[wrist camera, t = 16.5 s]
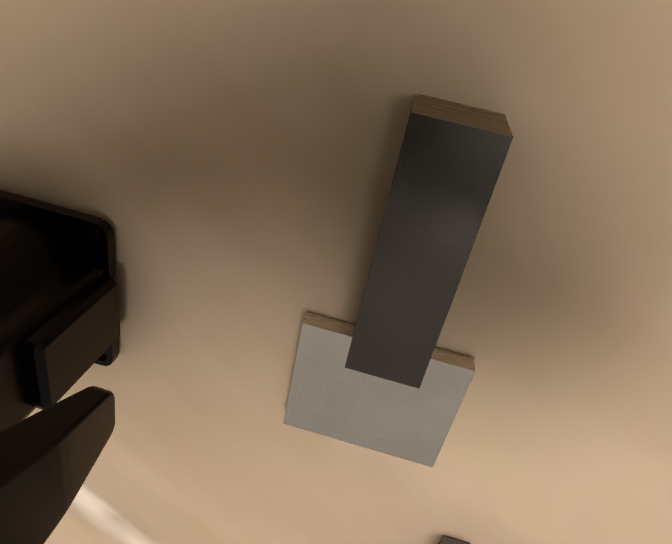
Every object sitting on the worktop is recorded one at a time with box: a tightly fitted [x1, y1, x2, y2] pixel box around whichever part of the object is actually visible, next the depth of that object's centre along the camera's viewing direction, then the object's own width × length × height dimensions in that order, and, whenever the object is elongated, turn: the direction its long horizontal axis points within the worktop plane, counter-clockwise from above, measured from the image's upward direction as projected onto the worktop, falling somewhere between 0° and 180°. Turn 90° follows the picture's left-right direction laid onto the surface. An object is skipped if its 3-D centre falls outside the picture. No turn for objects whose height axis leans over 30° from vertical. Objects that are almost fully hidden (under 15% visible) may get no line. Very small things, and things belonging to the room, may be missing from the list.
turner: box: [283, 94, 513, 467], centre depth 16 cm, size 13×6×2 cm, turn 169°
